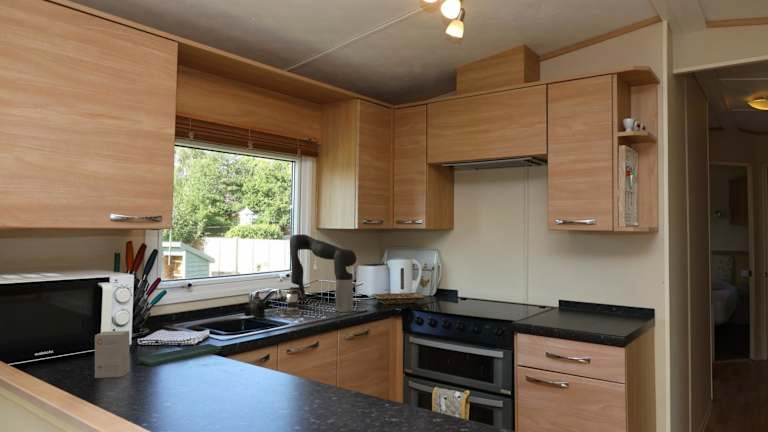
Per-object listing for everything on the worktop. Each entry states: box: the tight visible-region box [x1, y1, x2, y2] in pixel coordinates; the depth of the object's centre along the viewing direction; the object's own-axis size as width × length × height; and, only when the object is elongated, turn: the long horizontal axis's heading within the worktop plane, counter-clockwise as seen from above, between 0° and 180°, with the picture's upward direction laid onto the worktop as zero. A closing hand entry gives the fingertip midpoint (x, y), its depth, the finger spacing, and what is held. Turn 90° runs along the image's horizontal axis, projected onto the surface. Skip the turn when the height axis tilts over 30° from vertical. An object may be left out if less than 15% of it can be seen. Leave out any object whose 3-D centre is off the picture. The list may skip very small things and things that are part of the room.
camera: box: [243, 295, 266, 320], centre depth 265 cm, size 18×9×10 cm, turn 25°
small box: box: [94, 330, 131, 379], centre depth 161 cm, size 8×6×13 cm
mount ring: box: [281, 309, 301, 316], centre depth 270 cm, size 9×9×2 cm
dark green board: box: [138, 343, 222, 367], centre depth 183 cm, size 26×9×2 cm, turn 138°
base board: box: [280, 311, 302, 319], centre depth 270 cm, size 10×10×1 cm
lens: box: [286, 292, 299, 310], centre depth 281 cm, size 6×6×10 cm
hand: (292, 300), depth 284 cm, fingers open, 8 cm apart
